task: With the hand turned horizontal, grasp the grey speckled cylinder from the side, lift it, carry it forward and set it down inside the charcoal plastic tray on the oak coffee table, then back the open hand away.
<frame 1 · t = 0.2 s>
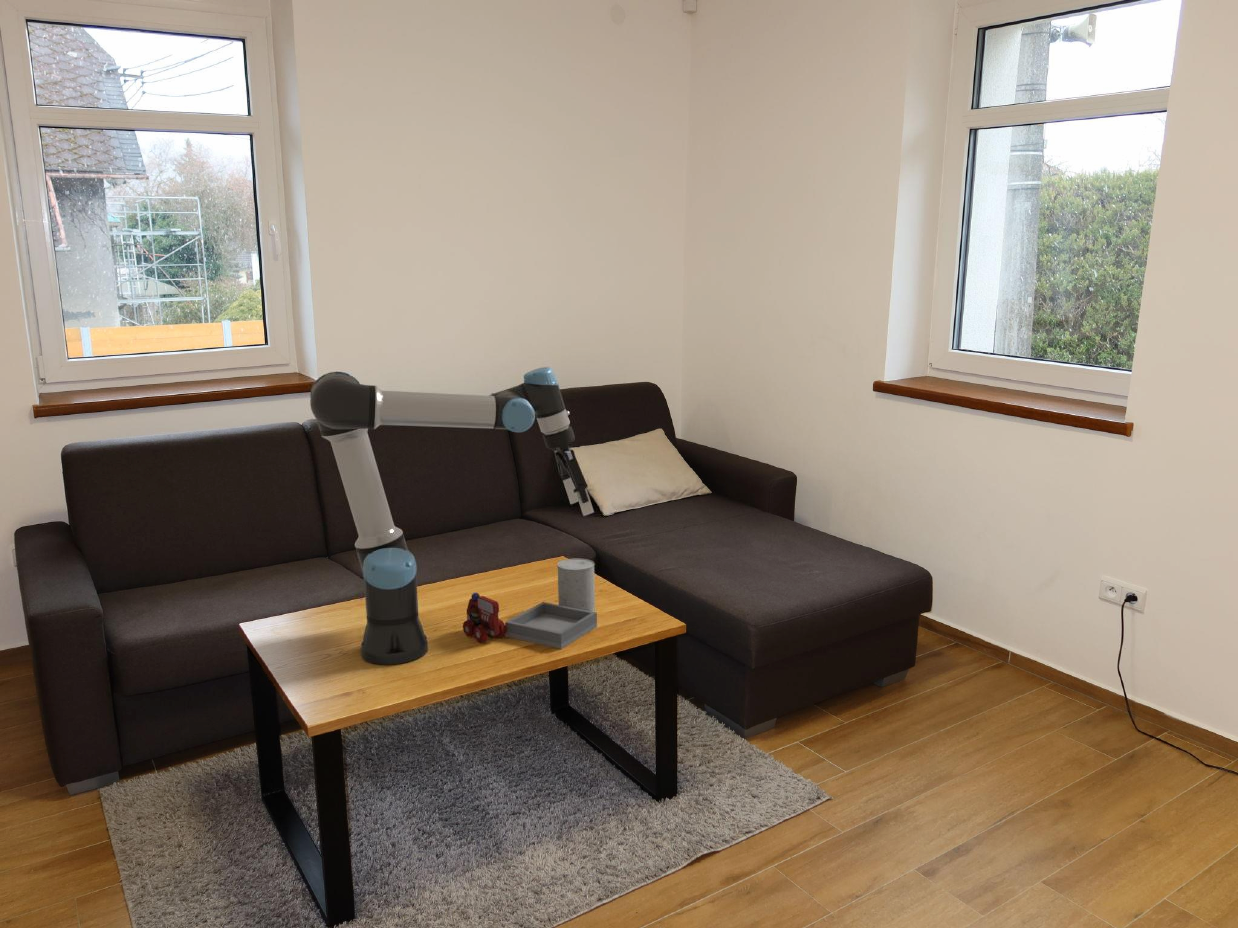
hand: (581, 508, 245), 27 cm above the table, tool tilted 15°, fingers open, 13 cm apart
grey speckled cylinder: (576, 609, 252), on the table
tray: (551, 631, 237), on the table
toy fire truck: (484, 636, 235), on the table
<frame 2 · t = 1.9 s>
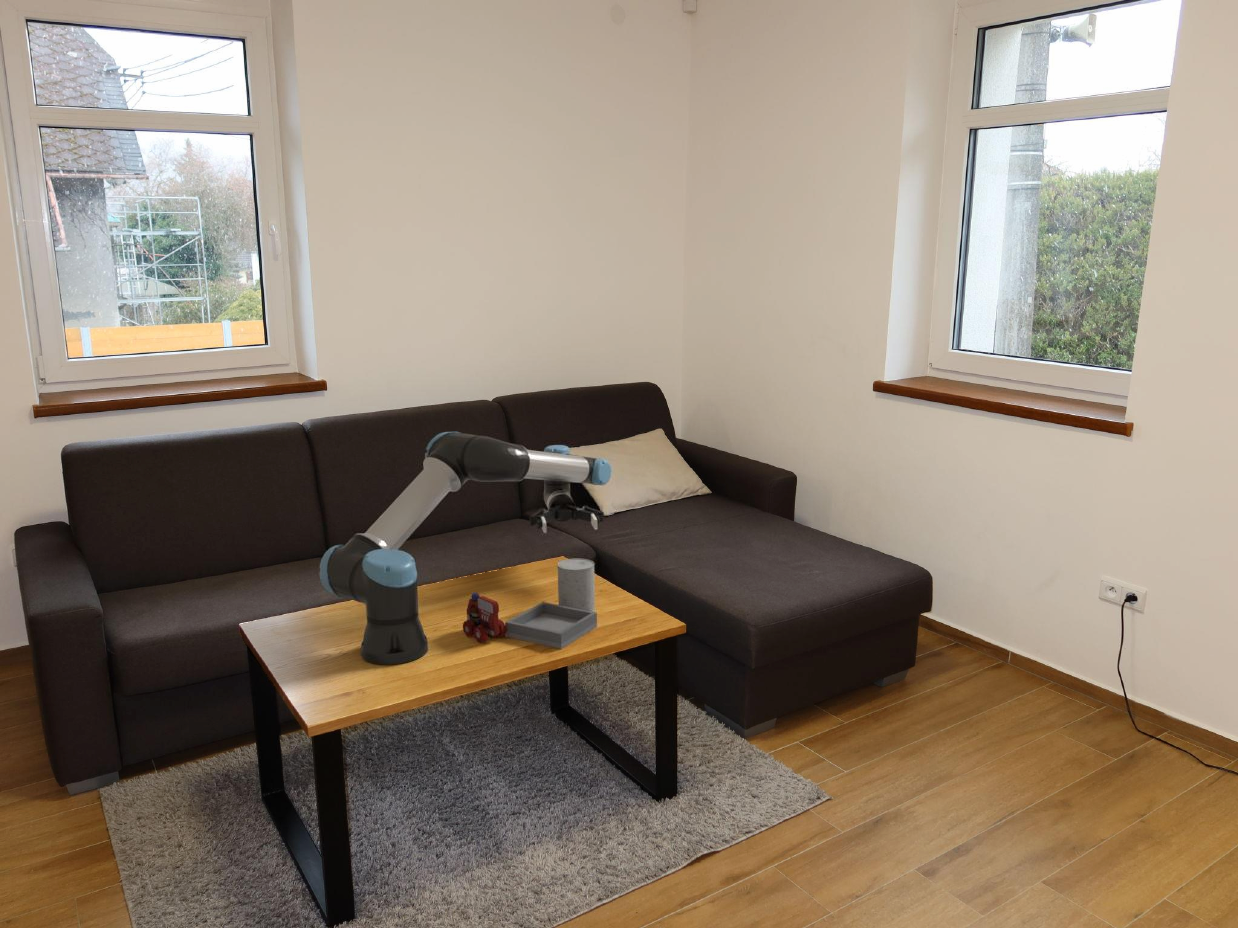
hand: (570, 526, 257), 20 cm above the table, tool horizontal, fingers open, 13 cm apart
nothing on the table moved.
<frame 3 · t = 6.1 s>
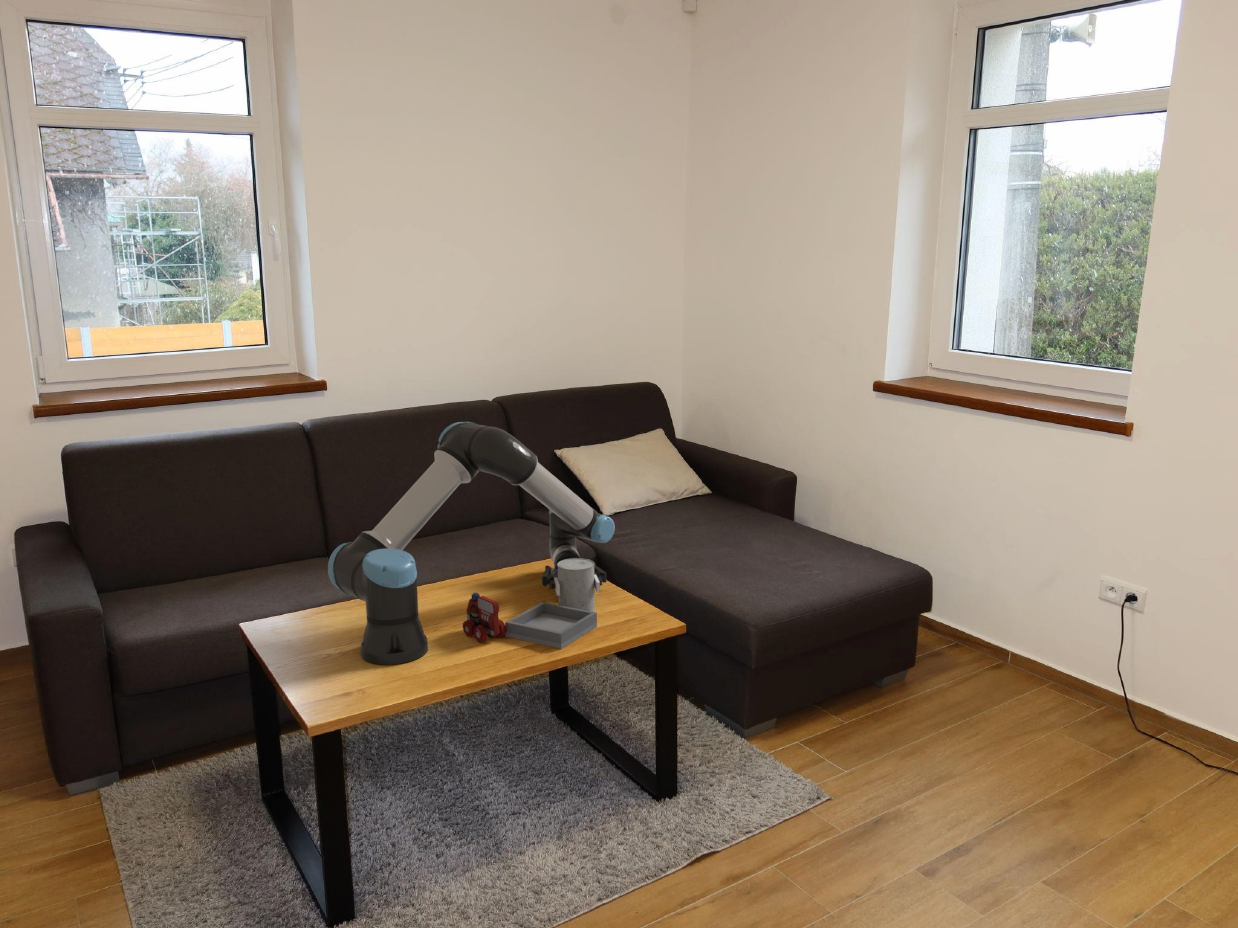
hand: (578, 588, 246), 7 cm above the table, tool horizontal, fingers closed on grey speckled cylinder, 9 cm apart
grey speckled cylinder: (576, 609, 252), on the table, touching gripper
everything else where it was.
when the fingers open (9 cm above the table, at t = 10.7 s): grey speckled cylinder drops 1 cm, resting on tray.
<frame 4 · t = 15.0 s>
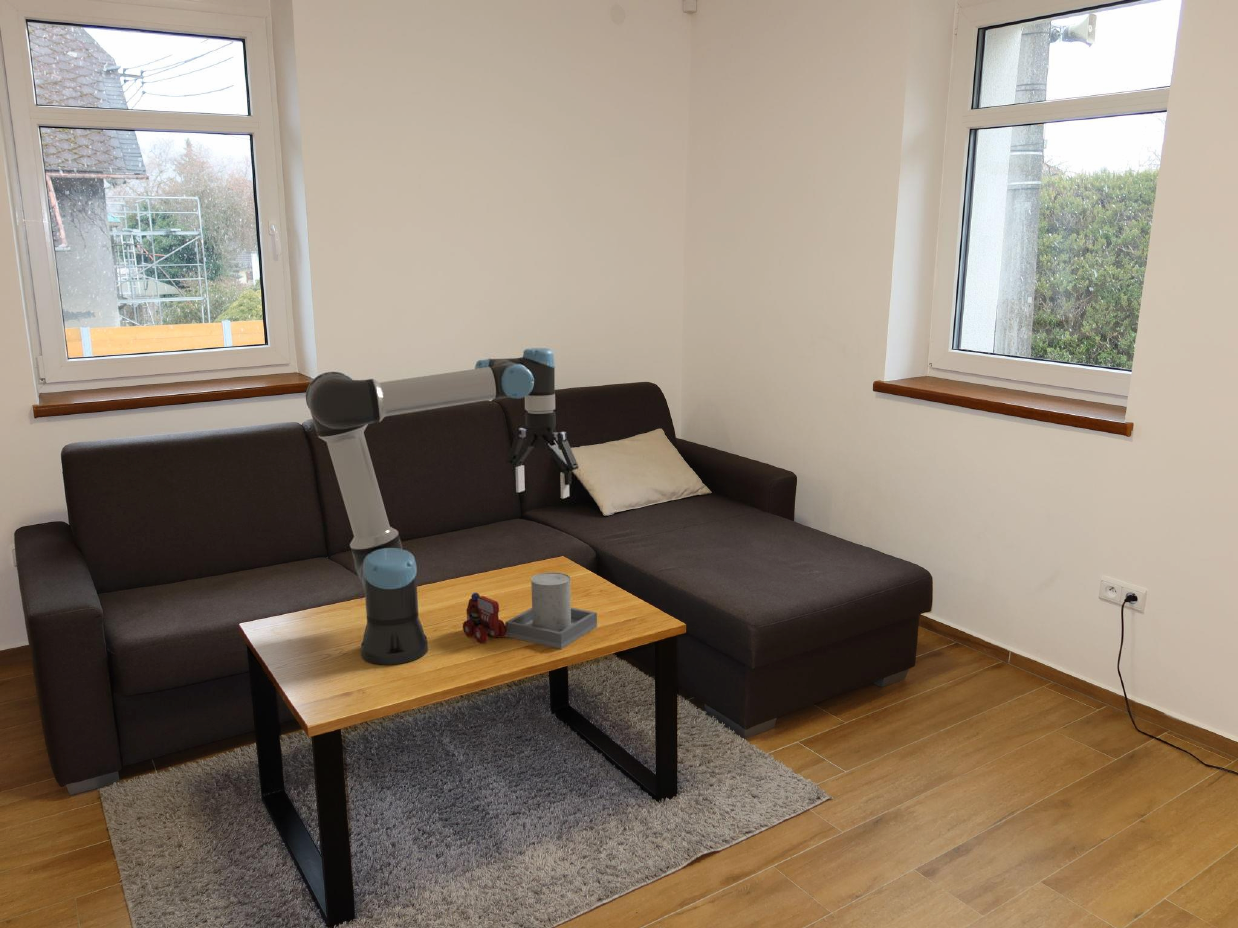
hand: (542, 494, 245), 31 cm above the table, tool pointing down, fingers open, 13 cm apart
grey speckled cylinder: (551, 627, 236), point 1 cm above the table, touching tray
everything else where it was.
at the end: grey speckled cylinder inside the target area on the tray (0.1 cm from its centre), point 1.0 cm above the tray's base; grey speckled cylinder tilted 0°; the gripper is holding nothing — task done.
